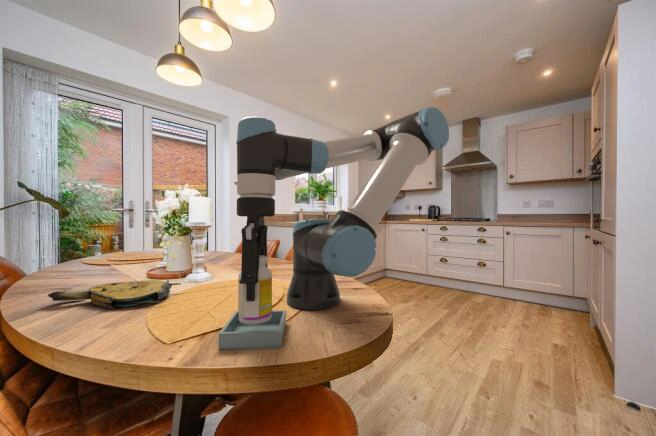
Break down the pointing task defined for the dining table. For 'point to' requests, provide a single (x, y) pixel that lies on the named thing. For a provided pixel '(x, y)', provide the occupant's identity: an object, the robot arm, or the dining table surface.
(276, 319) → the tray
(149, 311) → the dining table surface
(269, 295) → the supplement bottle
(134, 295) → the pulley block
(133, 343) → the dining table surface
